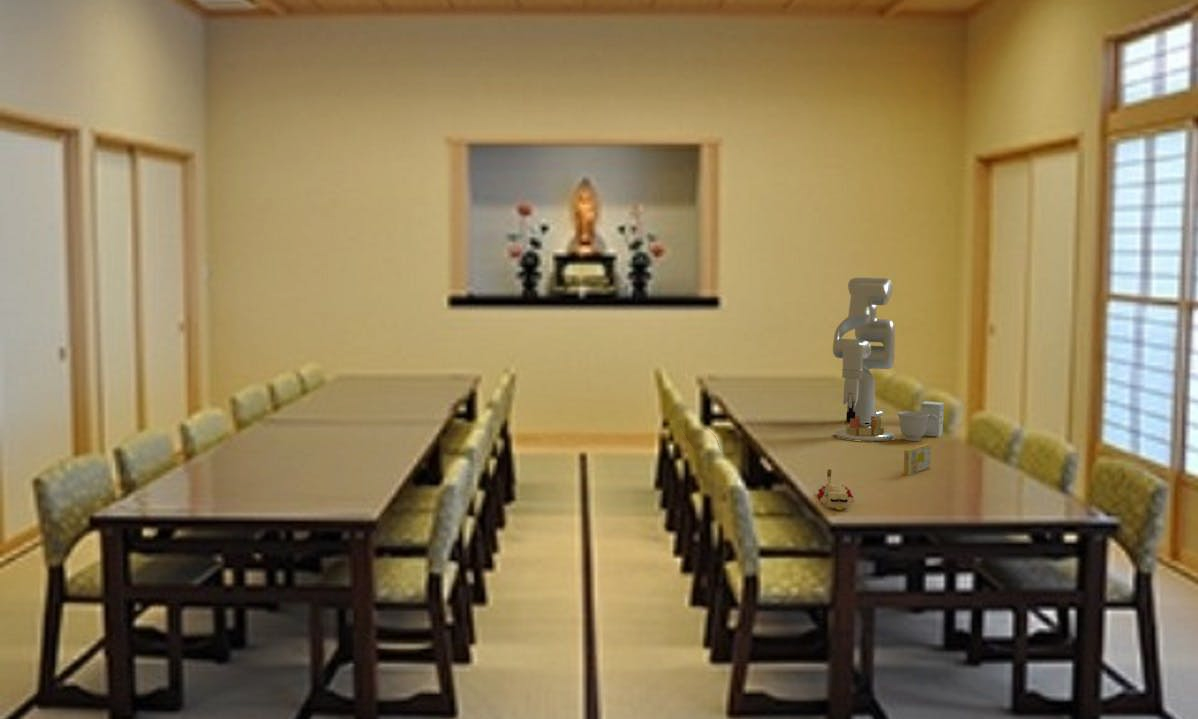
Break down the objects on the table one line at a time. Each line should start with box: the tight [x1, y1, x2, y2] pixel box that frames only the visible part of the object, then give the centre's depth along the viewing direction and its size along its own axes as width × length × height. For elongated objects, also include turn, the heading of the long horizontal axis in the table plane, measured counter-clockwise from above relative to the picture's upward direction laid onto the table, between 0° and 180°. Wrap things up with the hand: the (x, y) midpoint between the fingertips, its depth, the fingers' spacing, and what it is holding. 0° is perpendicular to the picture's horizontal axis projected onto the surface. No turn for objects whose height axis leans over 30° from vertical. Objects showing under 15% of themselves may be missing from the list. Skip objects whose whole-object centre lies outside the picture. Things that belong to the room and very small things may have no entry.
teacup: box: [897, 410, 938, 442], centre depth 469 cm, size 12×15×10 cm
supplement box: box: [920, 400, 945, 438], centre depth 482 cm, size 7×7×13 cm
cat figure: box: [816, 468, 855, 511], centre depth 357 cm, size 10×9×25 cm
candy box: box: [903, 443, 931, 476], centre depth 406 cm, size 16×2×8 cm, turn 141°
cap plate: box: [835, 425, 896, 442], centre depth 475 cm, size 22×22×4 cm
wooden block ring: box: [845, 415, 885, 436], centre depth 474 cm, size 14×14×6 cm
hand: (850, 421), depth 475 cm, fingers closed
